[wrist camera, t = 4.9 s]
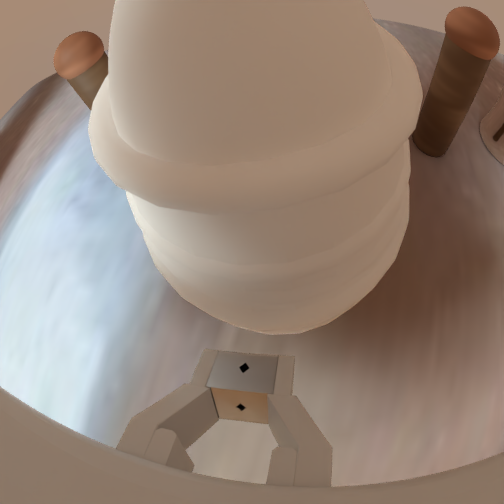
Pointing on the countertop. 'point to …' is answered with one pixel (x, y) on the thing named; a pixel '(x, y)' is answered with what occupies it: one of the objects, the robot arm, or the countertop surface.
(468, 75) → the post
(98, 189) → the countertop surface
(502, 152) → the beer glass
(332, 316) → the honey pot
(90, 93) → the post
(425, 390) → the countertop surface
